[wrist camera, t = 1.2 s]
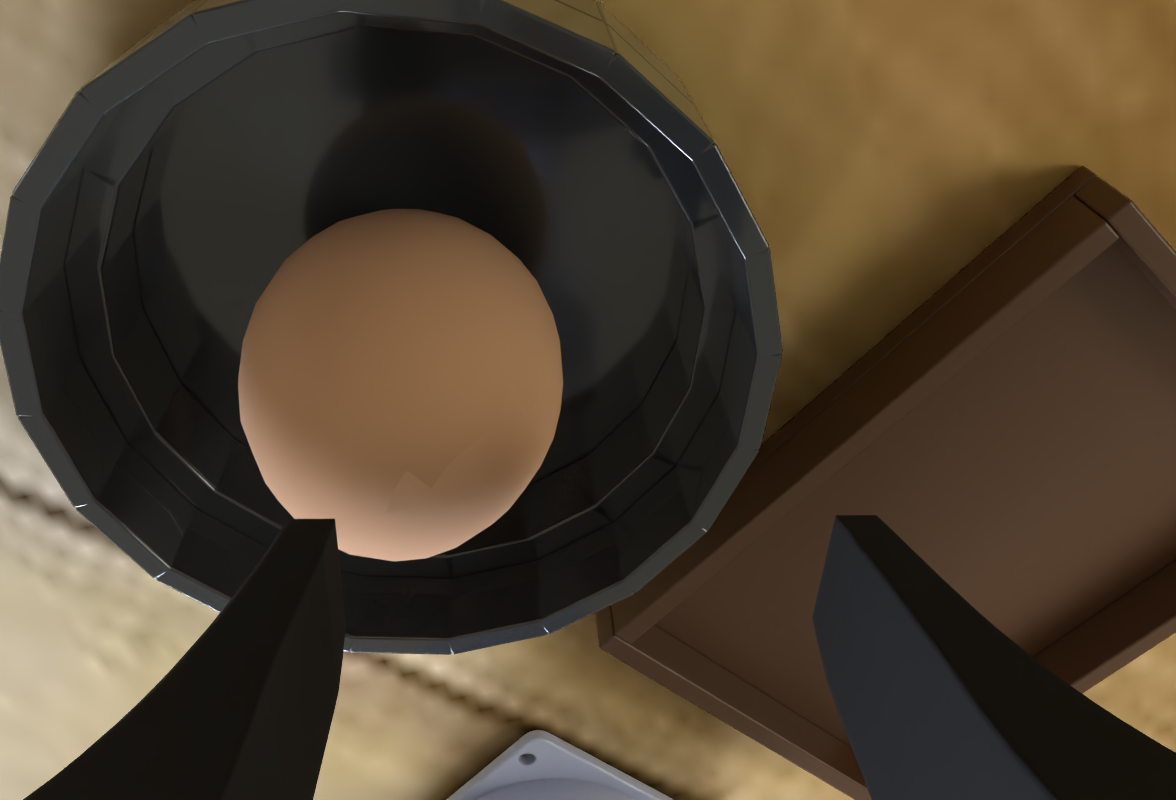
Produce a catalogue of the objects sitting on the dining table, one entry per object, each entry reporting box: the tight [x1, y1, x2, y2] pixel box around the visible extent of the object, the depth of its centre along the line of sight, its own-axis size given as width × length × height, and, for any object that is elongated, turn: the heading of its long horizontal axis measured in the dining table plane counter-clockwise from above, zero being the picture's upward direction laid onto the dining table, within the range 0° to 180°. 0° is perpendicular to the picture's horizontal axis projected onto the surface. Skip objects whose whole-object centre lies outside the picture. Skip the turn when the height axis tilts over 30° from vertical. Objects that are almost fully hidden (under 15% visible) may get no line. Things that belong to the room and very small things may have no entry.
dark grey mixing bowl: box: [0, 0, 783, 655], centre depth 21 cm, size 14×14×4 cm
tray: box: [596, 166, 1176, 800], centre depth 27 cm, size 16×12×2 cm
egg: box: [238, 209, 563, 562], centre depth 19 cm, size 6×6×8 cm
